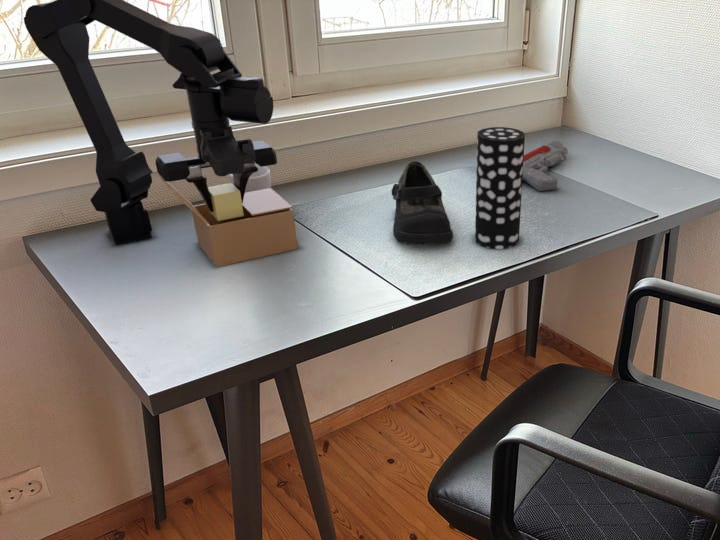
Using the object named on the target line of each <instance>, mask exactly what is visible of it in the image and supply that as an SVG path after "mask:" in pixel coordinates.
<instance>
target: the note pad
mask: <svg viewBox="0 0 720 540" xmlns="http://www.w3.org/2000/svg"><path fill="white" fill-rule="evenodd" d="M207 187H208V190H209V194H210V197H211V200H212V204H213V212H211V211H210V213H211V214H212V215H213V216H214V217H215V218H216V219H217V221H221V220H226V219H231V218H236V217H241V216H244V212H243V206H242V200H241V194H240V190H239V189H237V188H236V187H235V186H234V185H233V184H232V183H230V182H229V183H222V184H217V185H212V186H207Z"/></svg>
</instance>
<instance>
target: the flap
mask: <svg viewBox="0 0 720 540" xmlns="http://www.w3.org/2000/svg"><path fill="white" fill-rule="evenodd" d="M157 176H158V177H159V178H160V180H161V181H162V182H163V183H164V184H165V185H166V186H167V188H168V189H169V190H170V191H171V192H172V194H173V195H174V196H175V197H177V198H178V200H180V201H181V202H182V203H183V204H184V205H185V206H187V208H189V209H190V210H191V212H192V211H193V212H194V213H196V214H197V215H198V216H199V217H200V218H201V219H202V220H203V221H204V222H205V223H207V224H208V222H207V221H206V219H205V218H204V217H203V216H202V215H201V214H200V213H199V211H198V210H197V209H196V208H195V207H194V206H195V205H193V203H192V202H191V201H190V200H189V199H188V198H186V197H185V195H183V193H181V192H180V191H179V190H177V188H175V187H174V185H172V184H171V183H170V182H168V181H165V180H164V179H163V178H162V177H161V176H160V174H159V173H158V174H157Z"/></svg>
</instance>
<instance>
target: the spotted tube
mask: <svg viewBox="0 0 720 540" xmlns="http://www.w3.org/2000/svg"><path fill="white" fill-rule="evenodd" d="M525 141H526V133H525V132H524V131H522V130H520V129H517V128H513V127H505V126H491V127H486V128H482V129H479V130H478V131H477V134H476V181H475V220H474V221H475V222H474V223H475V224H474V225H475V227H474V229H475V230H474V242H475V243H476V244H478V245H479V246H481V247H483V248H487V249H492V250H493V249H494V250H504V249H509V248H513V247H515V246H517V245H518V244H519V242H520V229H521V211H522V195H523V194H522V193H523V180H522V177H523V160H524V155H525Z"/></svg>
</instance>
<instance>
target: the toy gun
mask: <svg viewBox="0 0 720 540" xmlns="http://www.w3.org/2000/svg"><path fill="white" fill-rule="evenodd" d="M567 154H569V151H568V148H567V147H565V146H563V142H561V141H557V140H553V141H551V142H549V143H547V144H543V145H541V146H540V147H537V148H535V149H533V150H531V151H529V152H527V153H524V160H523V177H522V181H523V182H524V181H525V182H526V183H527V184H528V185H530V186H531V187H532V188H533V189H535V190H537V191H539V192H546V191H555V190H556V189H557V188H558V182H559V181H558V179H557V178H554V177H552V176H550V175H548V174H546V173H547V172H548V169H549V168H550V167H552V166H555V165H556V164H558V163H560V162H562V161H564V160H566V158H565V157H564V155H567Z"/></svg>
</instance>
